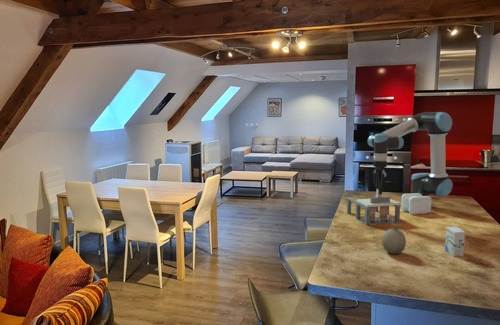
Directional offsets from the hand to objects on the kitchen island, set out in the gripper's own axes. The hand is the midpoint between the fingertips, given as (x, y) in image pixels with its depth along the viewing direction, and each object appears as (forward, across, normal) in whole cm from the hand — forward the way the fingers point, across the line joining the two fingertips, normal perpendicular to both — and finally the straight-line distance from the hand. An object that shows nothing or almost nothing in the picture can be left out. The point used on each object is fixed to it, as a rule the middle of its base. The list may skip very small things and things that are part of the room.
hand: (379, 199), depth 231 cm
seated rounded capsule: (+13, -2, -4) cm, 14 cm away
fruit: (+14, +47, -17) cm, 52 cm away
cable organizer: (+14, -14, +34) cm, 40 cm away
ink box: (+14, +53, +10) cm, 56 cm away
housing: (+14, -8, 0) cm, 16 cm away
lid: (+3, -2, 0) cm, 3 cm away
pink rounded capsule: (+13, -2, +4) cm, 14 cm away
